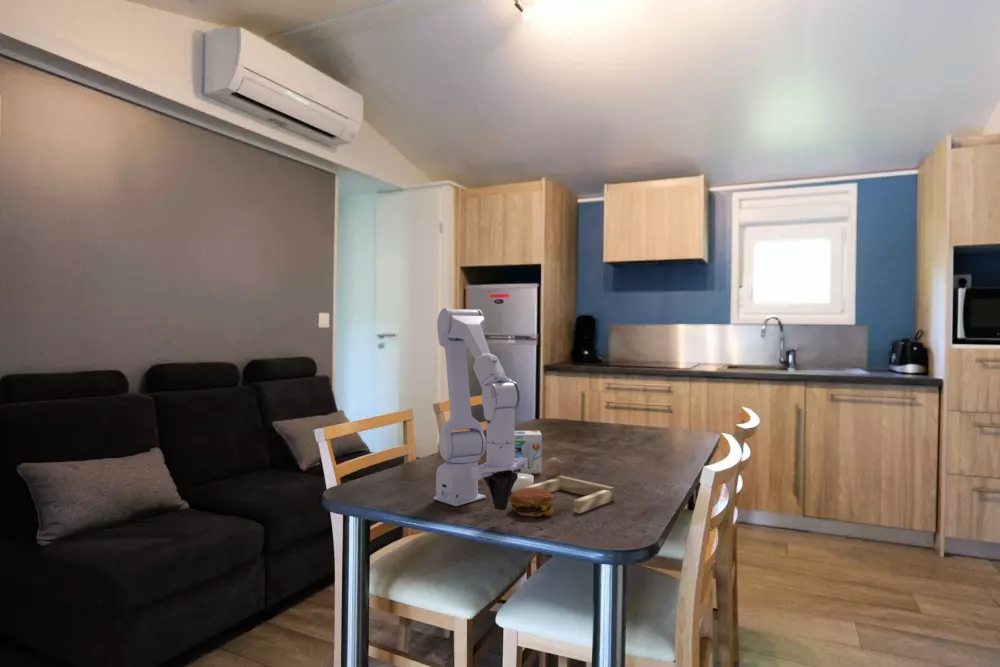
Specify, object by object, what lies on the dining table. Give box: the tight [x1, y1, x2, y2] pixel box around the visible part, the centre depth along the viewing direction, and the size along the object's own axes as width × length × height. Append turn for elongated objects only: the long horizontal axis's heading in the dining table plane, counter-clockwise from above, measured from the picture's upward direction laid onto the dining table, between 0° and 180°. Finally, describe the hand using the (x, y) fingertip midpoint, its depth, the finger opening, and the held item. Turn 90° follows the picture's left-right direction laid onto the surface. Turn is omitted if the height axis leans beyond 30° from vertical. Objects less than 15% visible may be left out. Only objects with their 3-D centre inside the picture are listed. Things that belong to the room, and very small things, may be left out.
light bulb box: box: [512, 430, 543, 474], centre depth 158 cm, size 11×7×11 cm, turn 92°
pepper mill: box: [545, 457, 563, 481], centre depth 143 cm, size 4×4×7 cm
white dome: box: [510, 473, 535, 493], centre depth 138 cm, size 6×6×4 cm
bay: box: [523, 475, 615, 514], centre depth 131 cm, size 14×16×3 cm
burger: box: [509, 488, 555, 518], centre depth 122 cm, size 10×9×5 cm
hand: (500, 508), depth 114 cm, fingers closed
